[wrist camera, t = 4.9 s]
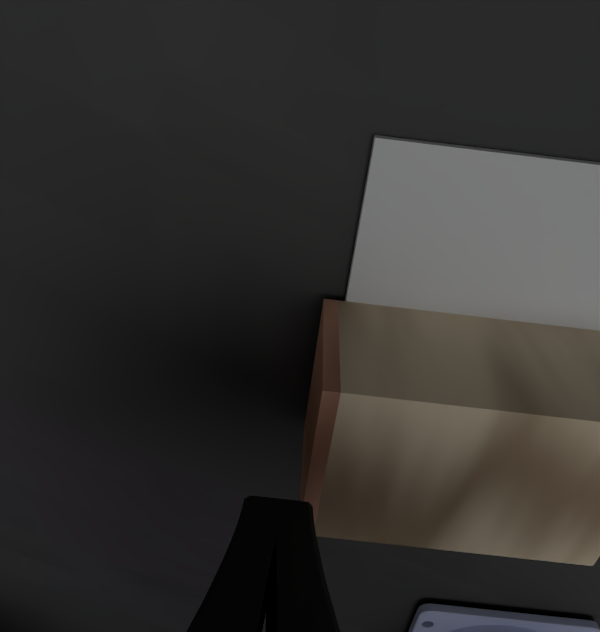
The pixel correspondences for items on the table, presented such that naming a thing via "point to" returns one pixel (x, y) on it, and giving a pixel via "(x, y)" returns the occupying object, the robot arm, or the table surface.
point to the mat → (479, 233)
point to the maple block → (454, 433)
